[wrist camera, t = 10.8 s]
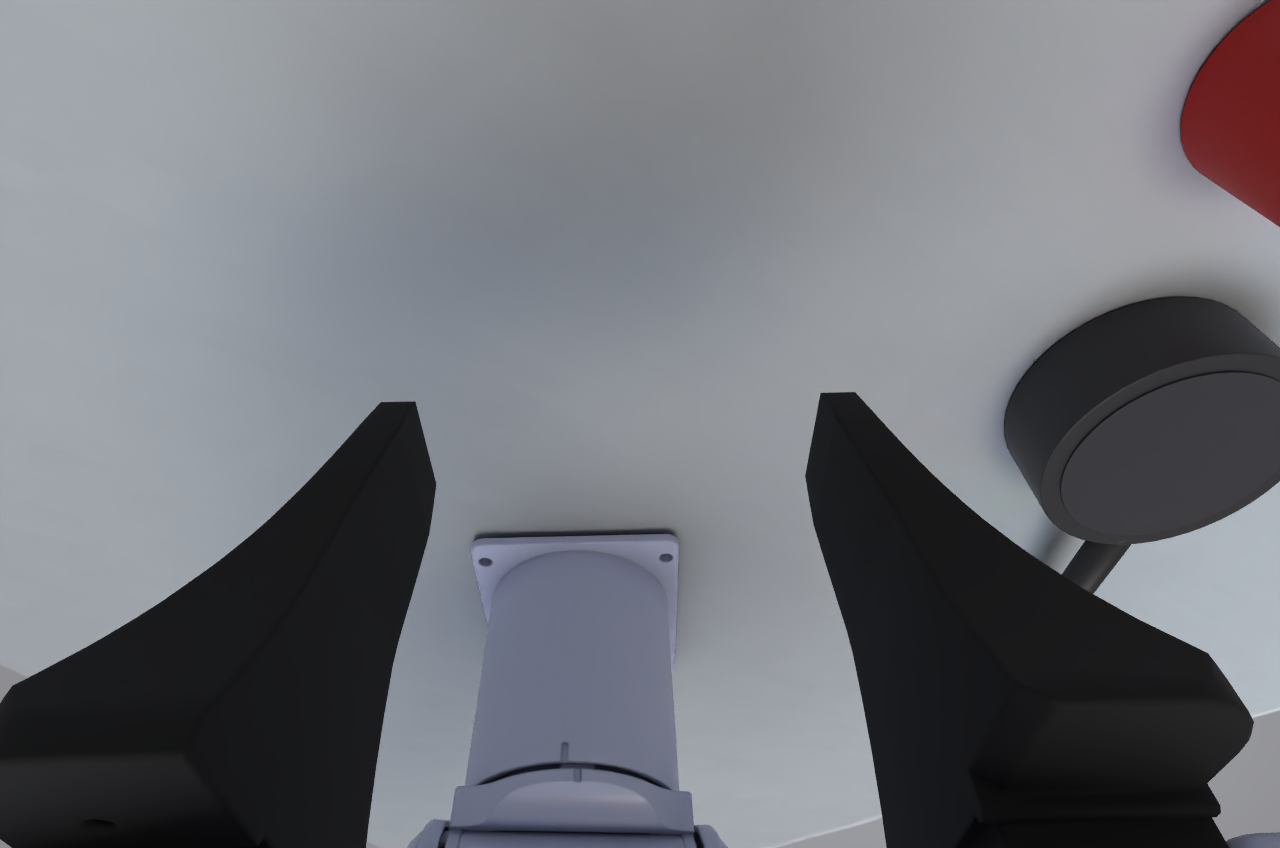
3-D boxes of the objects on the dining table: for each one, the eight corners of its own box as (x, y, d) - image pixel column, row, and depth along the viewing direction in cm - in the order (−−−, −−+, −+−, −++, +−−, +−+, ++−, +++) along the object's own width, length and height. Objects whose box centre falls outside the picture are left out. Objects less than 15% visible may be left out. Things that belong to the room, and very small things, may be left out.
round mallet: (1031, 723, 40) (1057, 782, 38) (880, 727, 40) (896, 787, 38) (1308, 293, 23) (1387, 352, 21) (1049, 298, 23) (1098, 357, 21)
